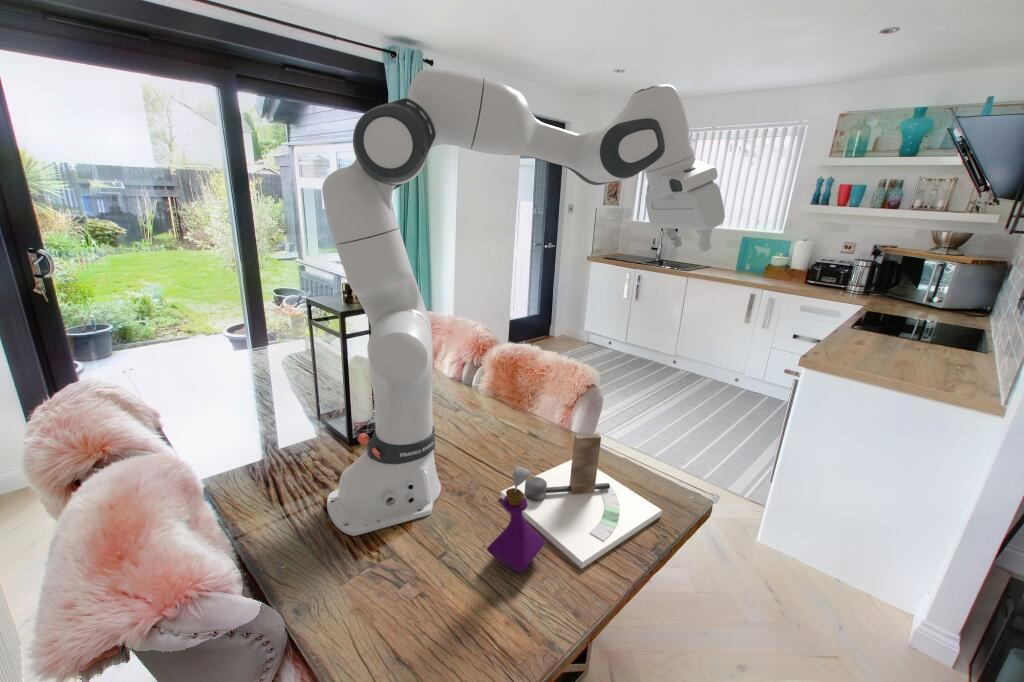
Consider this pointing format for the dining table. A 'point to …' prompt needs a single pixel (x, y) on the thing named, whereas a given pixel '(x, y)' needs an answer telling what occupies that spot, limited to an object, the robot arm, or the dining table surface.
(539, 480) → the lever
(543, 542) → the perfume bottle
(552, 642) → the dining table surface
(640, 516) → the dial board
